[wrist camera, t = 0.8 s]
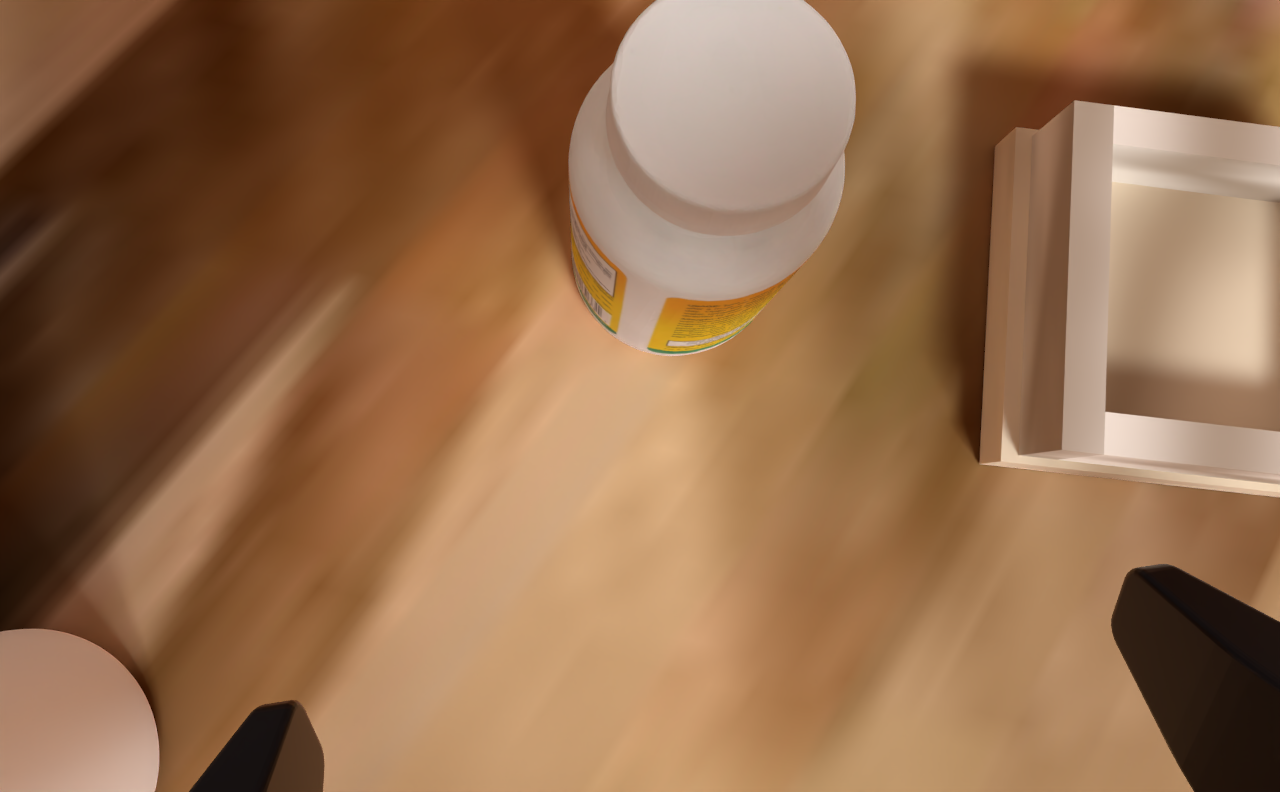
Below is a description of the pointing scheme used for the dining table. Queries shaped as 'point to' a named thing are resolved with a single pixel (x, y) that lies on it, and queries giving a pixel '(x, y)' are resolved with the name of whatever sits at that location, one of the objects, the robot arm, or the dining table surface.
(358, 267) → the dining table surface
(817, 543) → the dining table surface
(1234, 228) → the candle holder
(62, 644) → the can
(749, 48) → the supplement bottle
